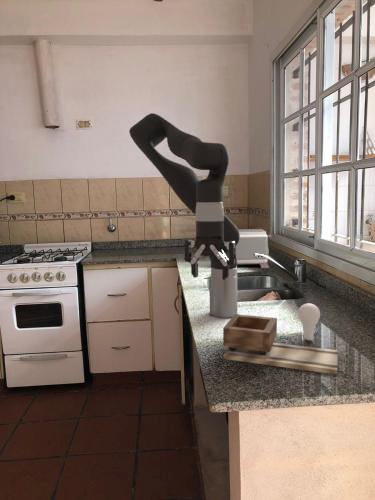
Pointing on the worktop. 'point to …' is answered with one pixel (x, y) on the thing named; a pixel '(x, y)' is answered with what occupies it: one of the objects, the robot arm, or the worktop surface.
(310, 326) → the lightbulb
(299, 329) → the worktop surface
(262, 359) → the track
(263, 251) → the toaster
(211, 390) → the worktop surface
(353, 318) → the worktop surface
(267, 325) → the open wooden crate
